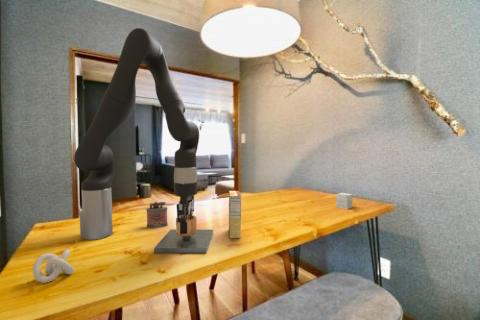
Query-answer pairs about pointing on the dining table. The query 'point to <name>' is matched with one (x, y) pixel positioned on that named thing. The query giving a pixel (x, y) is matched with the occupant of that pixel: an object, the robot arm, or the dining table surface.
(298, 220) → the dining table surface
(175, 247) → the base
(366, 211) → the dining table surface
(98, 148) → the robot arm
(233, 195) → the candy box
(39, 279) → the knot
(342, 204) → the skincare box
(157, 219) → the lighter
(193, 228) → the wooden tube
